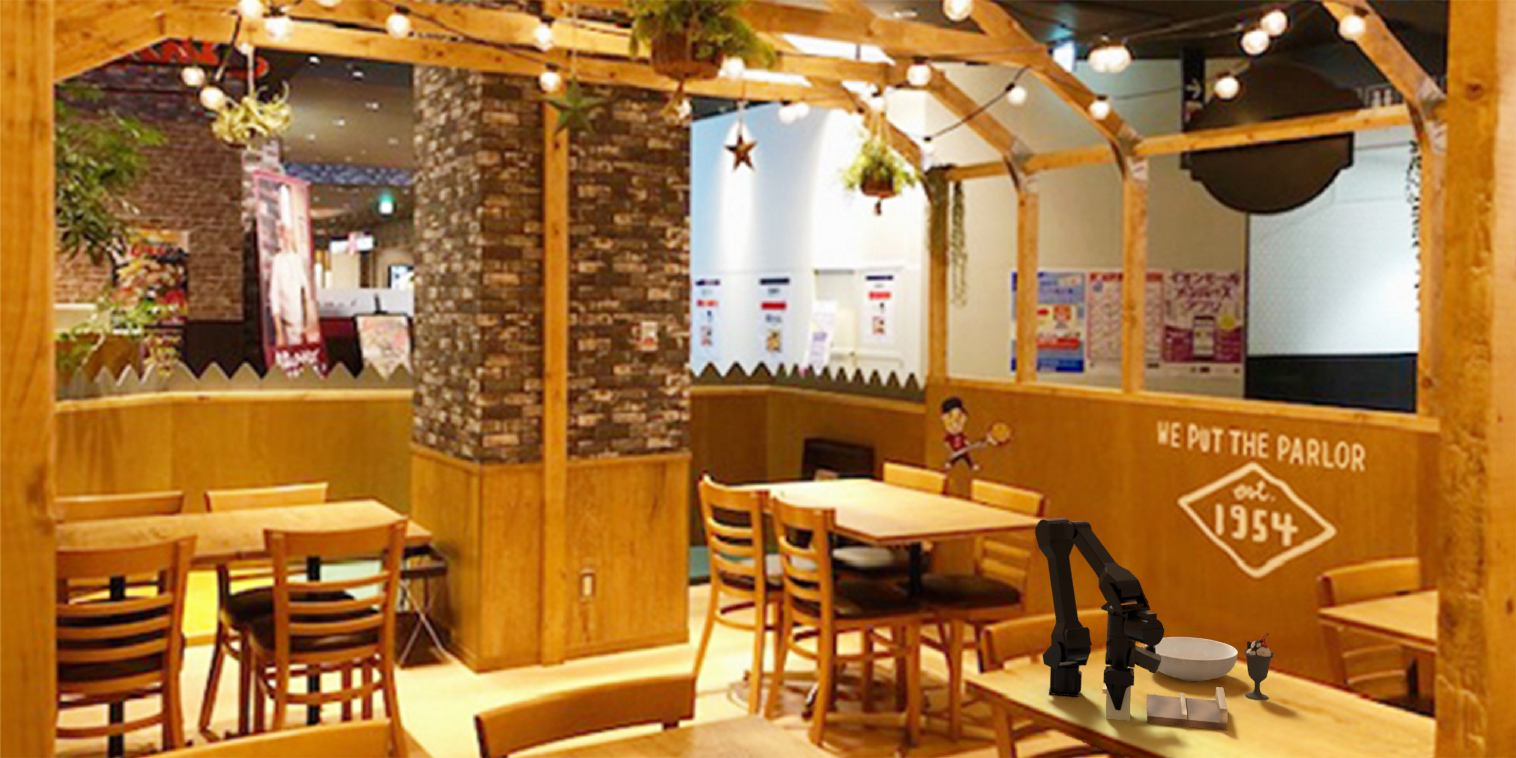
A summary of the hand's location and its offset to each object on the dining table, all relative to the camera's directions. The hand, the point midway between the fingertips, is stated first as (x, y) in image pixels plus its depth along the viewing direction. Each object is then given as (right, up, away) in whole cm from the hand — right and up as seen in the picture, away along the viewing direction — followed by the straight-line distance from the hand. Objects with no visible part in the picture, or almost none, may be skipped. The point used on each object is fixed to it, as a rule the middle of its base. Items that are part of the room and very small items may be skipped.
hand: (1118, 706), depth 294 cm
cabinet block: (0, -2, 0) cm, 2 cm away
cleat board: (+15, -2, +1) cm, 15 cm away
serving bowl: (+25, -1, +31) cm, 40 cm away
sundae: (+35, -2, +15) cm, 38 cm away
